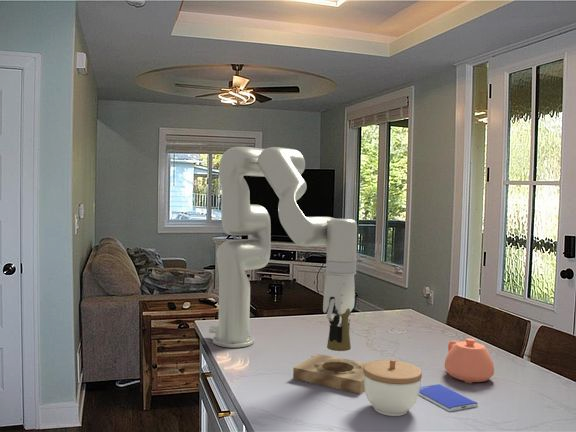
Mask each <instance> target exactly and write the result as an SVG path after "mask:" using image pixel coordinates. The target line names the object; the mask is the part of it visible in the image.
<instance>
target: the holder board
mask: <svg viewBox="0 0 576 432" xmlns="http://www.w3.org/2000/svg"><path fill="white" fill-rule="evenodd" d="M366 363H367V362H364V361H363V362H362V361H359V360H353V359H348V358H343V357H337V356H333V355H332V356H331V355H326V354H321V353H317V354H314V355H313V356H311V357H310V358H308V359H306V360H304V361H303V362H300V363H299V364H297V365H296V366H294V367H293V372H292V373H293V375H292V379H293V380H295V381H298V380H300V381H299V382H303V381H305V382H304V383H307V382H310V383H309V384H312V383H314V384H313V385H317V384H319V385H318V386H321V385H323V386H322V387H326V386H327V388H331V387H332V389H335V388H336V390H341V391H346V392H348V393H349V392H350V393H355V394H358V395H359V394H360V395H362V394H363V393H364V392H365V390H364V373H363V367H364V365H365V364H366Z"/></svg>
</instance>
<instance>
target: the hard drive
mask: <svg viewBox="0 0 576 432" xmlns="http://www.w3.org/2000/svg"><path fill="white" fill-rule="evenodd" d="M419 396H421V397H422V398H424V399H426V400H428V401H430V402H431V403H433V404H435V405H437V406H439V407H440V408H442V409H444V410H446V411H447V412H455V411H461V410H466V409H470V408H471V409H472V408H476V407H478V406H479V405H478V404H479V403H478V402H477V401H475V400H472V399H470V398H469V397H466V396H465V395H463V394H461V393H459V392H457V391H455V390H452V389H450V388H449V387H448V386H447V387H446V386H444V385H443V384H439V383H437V384H430V385H426V386H425V385H424V386H421V387H420V393H419Z"/></svg>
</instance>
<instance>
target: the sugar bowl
mask: <svg viewBox="0 0 576 432" xmlns="http://www.w3.org/2000/svg"><path fill="white" fill-rule="evenodd" d="M447 349H448V351H447V355H446V358H445V361H444V369H445V371H446V372H447V373H448V374H449V376H450V377H453V378H455V379H457V380H460V381H464V383H466V384H473V383H480V382H486V381H488V380H489V379H491V378H492V377H493V376H494V373H495V364H494V361H493V359H492V357H491V355H490V352H489V350H488V349H487V348H486V346H485V345H484V344H482V343H478V342H476V339H474V338H465V340H464V341H458V340H451V341H449V342H448V345H447Z"/></svg>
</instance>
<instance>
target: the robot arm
mask: <svg viewBox="0 0 576 432" xmlns="http://www.w3.org/2000/svg"><path fill="white" fill-rule="evenodd" d="M305 169H306V161H305V157H304V156H303V154H302V153H301V152H300V151H299V150H297V149H294V148H288V147H281V146H280V147H279V146H277V147H276V146H271V147H267V148H259V147H252V146H233V147H230V148H228V149H226V150H225V151H224V152H223V154H222V155H221V158H220V160H219V165H218V173H219V179H220V186H221V226H222V229H223V232H224V233H225V234H227V235H230V236H247V238H245V239H231V240H227V241H224V242H223V243H221V244H220V245H219V246H218V248H217V250H216V262H217V268H218V269H217V270H218V280H219V281H218V285H219V286H218V323H217V324H218V325H215V324H211V325H210V327H209V328H208V332H209V333H211V334H214V337H213V338H212V344H214V346H215V345H216V346H219V347H222V348H223V347H224V348H244V347H249V346H252V345H253V344H254V343H255V338H254V336H252V335H250V312H251V311H250V310H251V309H250V308H251V306H250V305H251V283H250V280H249V277H248V276H247V273H246V271H250V270H259V269H262V268H265V267H266V266H267V265H268V264H269V262H270V258H271V249H272V248H271V247H272V246H271V240H272V239H271V238H272V236H271V233H272V231H271V230H272V229H271V228H272V227H271V225H272V224H271V216H270V214H269V212H268V210H267V209H266V207H264V206H262V205H260V204H251V200H250V199H251V198H250V188H249V185H248V183H247V181H246V179H245V178H244V176H246V177H248V176H249V177H265V179H266V181H267V182H268V184H269V185H270V187H271V188H272V189H273V191H274V193H275V194H276V196H277V197H278V199H279V201H278V205H277V208H278V209H277V211H278V212H277V214H278V218H279V222H280V224H281V226H282V228H283V229H284V231H285V233H286V234H287V236H288V237H289V238H290V239H291V240H292V242H293V243H295V244H296V245H298V246H300V247H312V246H313V247H314V246H317V247H318V246H326V256H325V257H326V261H325V262H326V263H325V265H326V266H325V267H326V269H325V273H326V277H325V281H324V290H323V302H322V304H323V305H322V312H323V313H324V314H326V318H327V320H328V322H329V323H328V325H329V331H330V341H332V342H333V340H336V341H337V342H338V343H341V342H342V327H341V320H342V314H344V313H345V312H346V310H347V309H348V308H349V309H350V315H349V317H348V326H349V327H350V325H351V323H350V322H351V313H352V310H354V307H355V302H356V301H355V299H356V297H355V296H356V290H355V289H356V287H355V286H356V284H355V275H356V274H357V249H358V246H357V245H358V224H357V221H356V220H354V219H352V218H334V217H331V216H305V214H304V213H303V211H302V210H301V209H300V207H299V205H298V204H297V201H298V200H300V199H301V198H302V196H303V195H304V194H305V193H306V191H307V188H308V187H307V182H306V181H305V179H304V178H303V177H302V174H303V173H304V171H305ZM334 311H338V312H337V313H338V314H336V313H334ZM334 316H338V320H337V318H336V317H334Z"/></svg>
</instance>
